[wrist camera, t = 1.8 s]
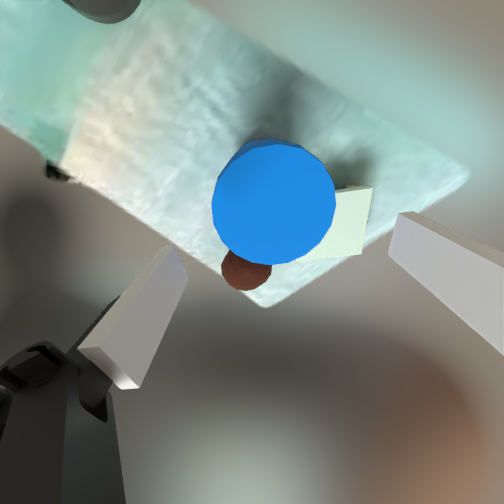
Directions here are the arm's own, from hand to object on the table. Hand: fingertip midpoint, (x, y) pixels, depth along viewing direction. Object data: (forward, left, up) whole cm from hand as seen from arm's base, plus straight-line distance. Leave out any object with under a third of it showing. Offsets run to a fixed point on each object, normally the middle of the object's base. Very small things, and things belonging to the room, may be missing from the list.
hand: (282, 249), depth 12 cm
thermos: (0, 0, -31) cm, 31 cm away
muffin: (+19, -6, -31) cm, 36 cm away
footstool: (+12, +12, -30) cm, 35 cm away
